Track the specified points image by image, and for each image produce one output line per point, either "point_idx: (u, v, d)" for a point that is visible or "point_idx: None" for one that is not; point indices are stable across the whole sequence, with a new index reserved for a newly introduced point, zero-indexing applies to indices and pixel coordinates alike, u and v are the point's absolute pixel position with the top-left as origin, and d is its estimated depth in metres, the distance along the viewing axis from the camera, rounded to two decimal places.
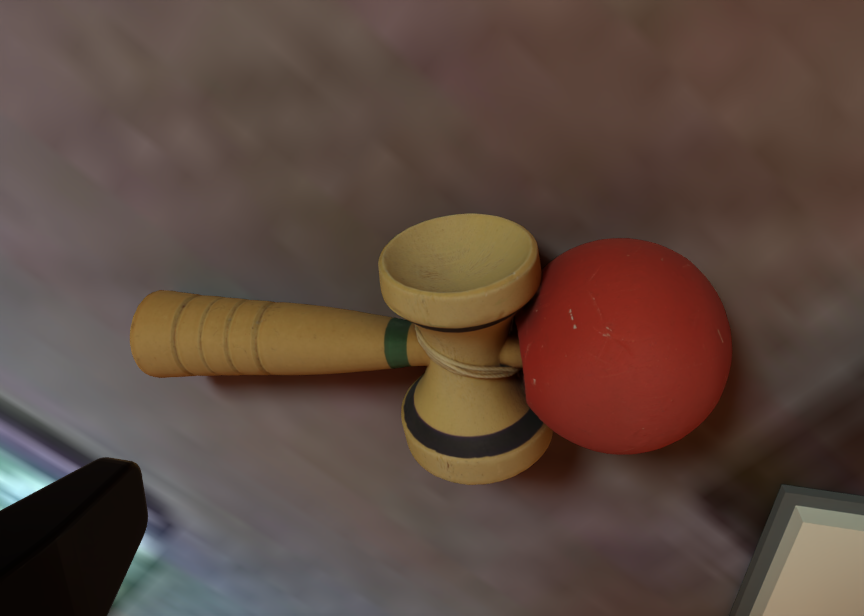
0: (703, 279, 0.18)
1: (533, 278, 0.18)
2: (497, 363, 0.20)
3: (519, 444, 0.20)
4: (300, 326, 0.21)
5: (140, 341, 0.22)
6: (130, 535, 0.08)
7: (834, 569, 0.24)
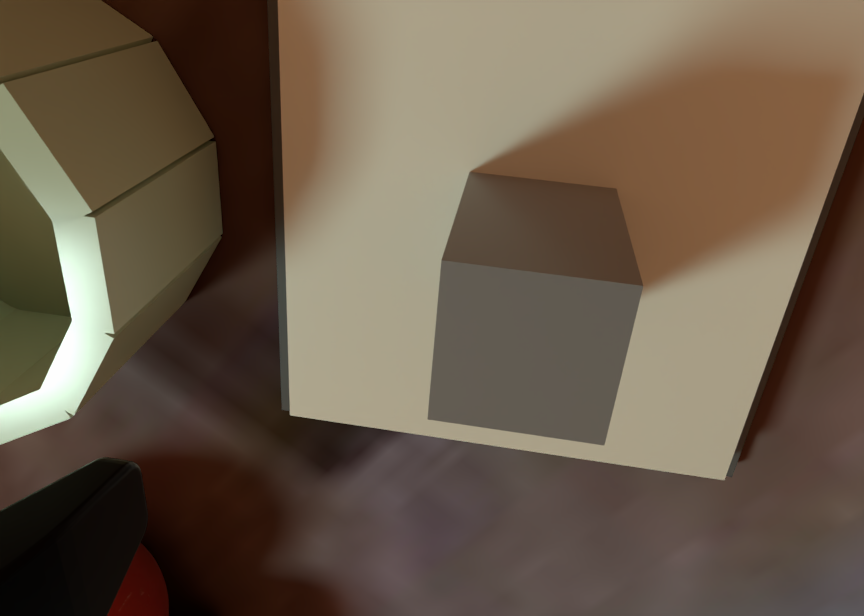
0: None
1: None
2: None
3: None
4: None
5: None
6: (130, 535, 0.08)
7: (362, 373, 0.17)
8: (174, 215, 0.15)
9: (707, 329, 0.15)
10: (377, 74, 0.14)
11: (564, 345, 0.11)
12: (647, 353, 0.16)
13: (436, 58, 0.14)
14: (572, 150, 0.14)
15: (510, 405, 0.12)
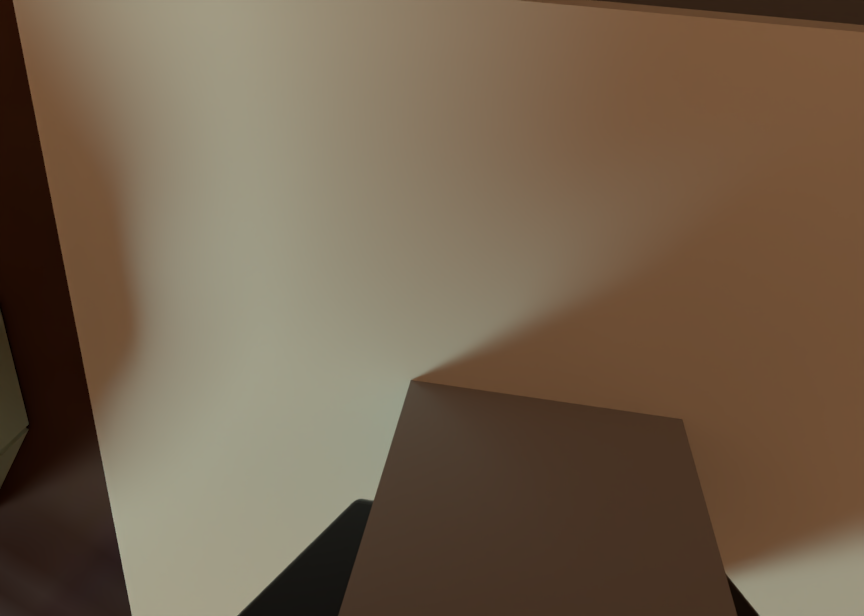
0: None
1: None
2: None
3: None
4: None
5: None
6: None
7: None
8: None
9: None
10: (230, 212, 0.07)
11: None
12: None
13: (338, 187, 0.07)
14: (601, 354, 0.07)
15: None
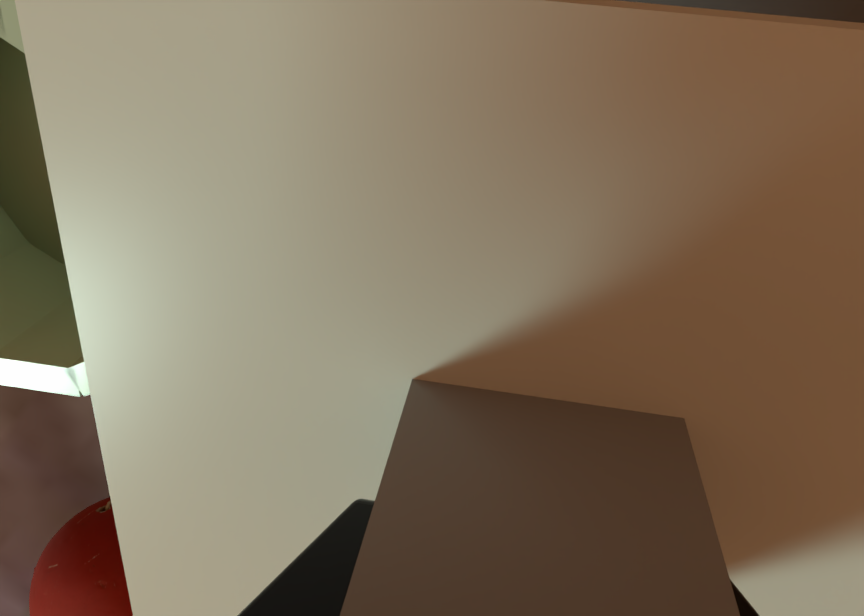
0: (50, 541, 0.23)
1: None
2: None
3: None
4: None
5: None
6: None
7: None
8: None
9: None
10: (231, 211, 0.07)
11: None
12: None
13: (340, 186, 0.07)
14: (603, 352, 0.07)
15: None
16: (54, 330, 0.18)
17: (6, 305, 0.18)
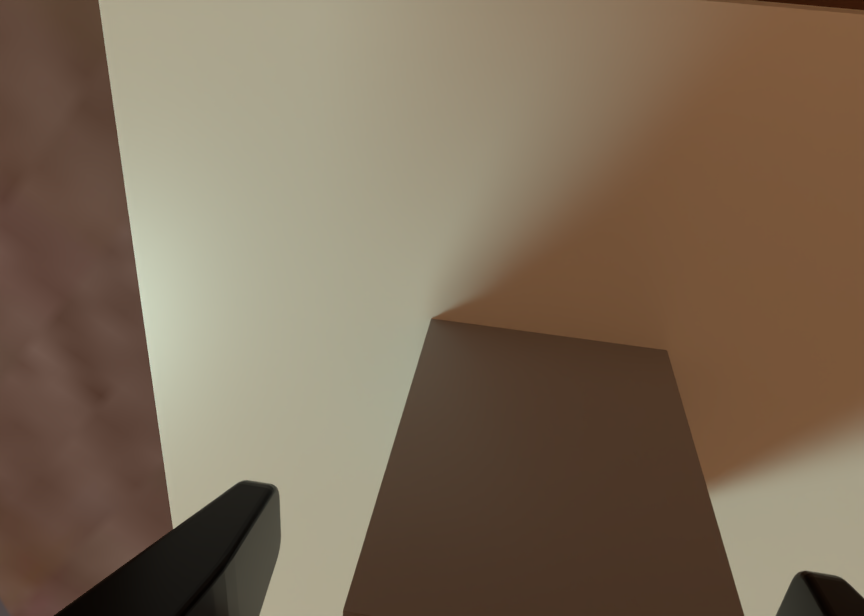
0: None
1: None
2: None
3: None
4: None
5: None
6: (269, 559, 0.08)
7: (283, 579, 0.12)
8: None
9: (802, 549, 0.10)
10: (276, 169, 0.08)
11: None
12: None
13: (371, 146, 0.08)
14: (596, 292, 0.09)
15: None
16: None
17: None
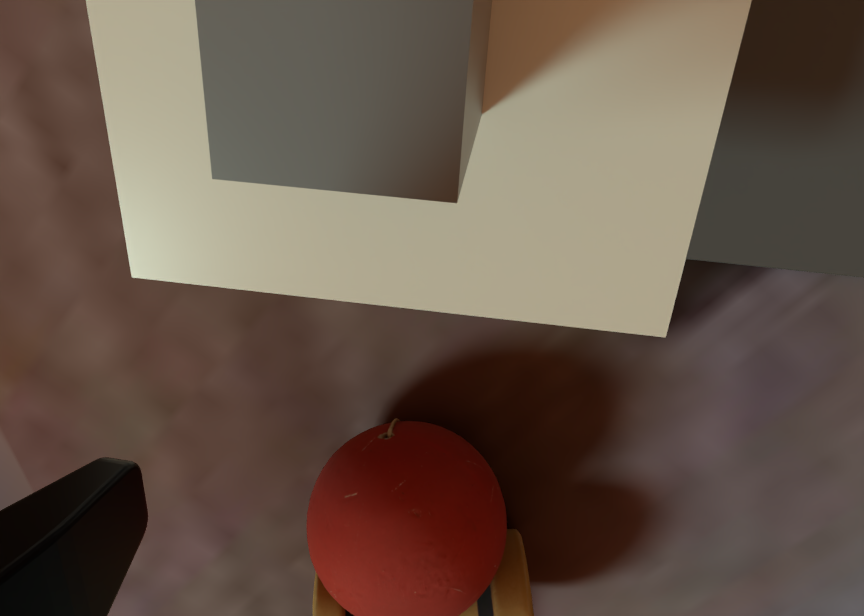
0: (327, 471, 0.20)
1: (327, 593, 0.22)
2: None
3: None
4: None
5: None
6: (130, 535, 0.08)
7: (210, 213, 0.14)
8: None
9: (631, 123, 0.12)
10: None
11: (380, 32, 0.07)
12: (557, 163, 0.12)
13: None
14: None
15: (320, 145, 0.08)
16: None
17: None
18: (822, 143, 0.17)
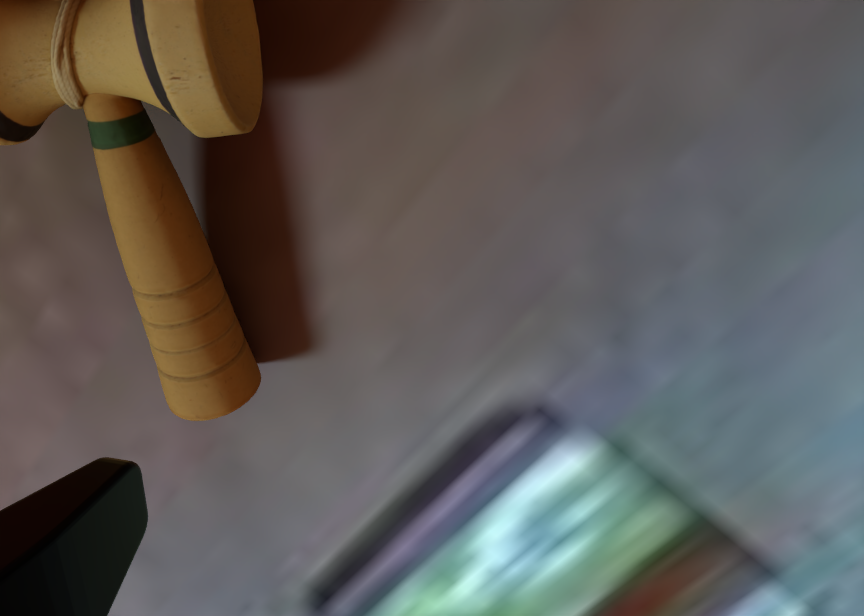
0: None
1: None
2: (63, 2, 0.15)
3: None
4: None
5: (178, 408, 0.21)
6: (130, 535, 0.08)
7: None
8: None
9: None
10: None
11: None
12: None
13: None
14: None
15: None
16: None
17: None
18: None
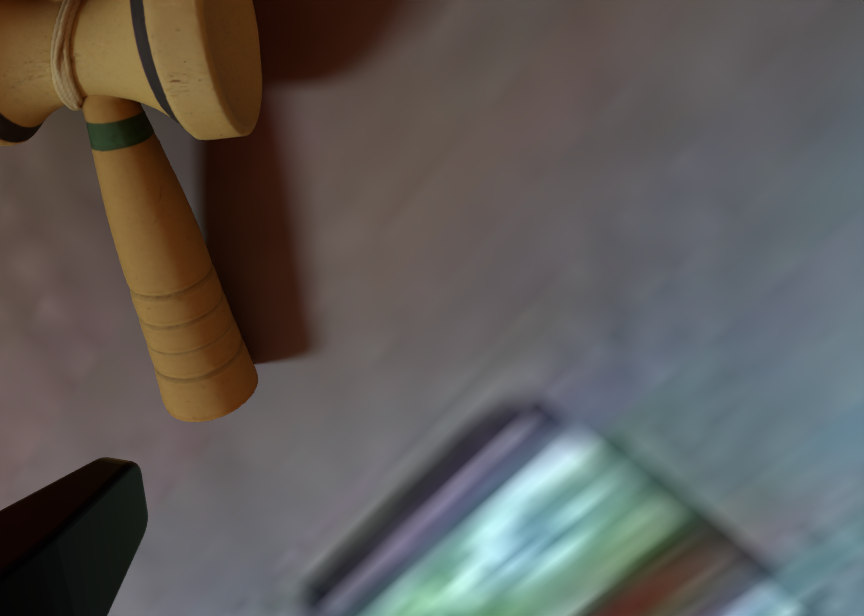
0: None
1: None
2: (63, 4, 0.15)
3: None
4: None
5: (175, 409, 0.21)
6: (130, 535, 0.08)
7: None
8: None
9: None
10: None
11: None
12: None
13: None
14: None
15: None
16: None
17: None
18: None
